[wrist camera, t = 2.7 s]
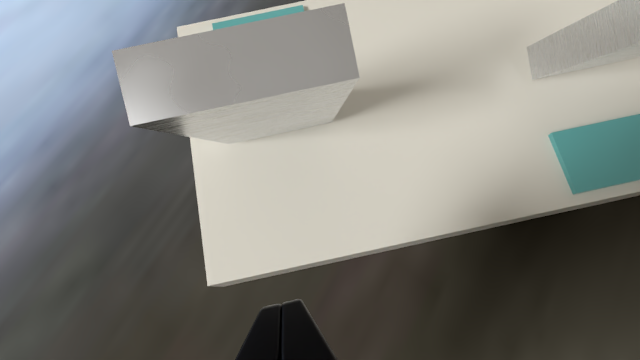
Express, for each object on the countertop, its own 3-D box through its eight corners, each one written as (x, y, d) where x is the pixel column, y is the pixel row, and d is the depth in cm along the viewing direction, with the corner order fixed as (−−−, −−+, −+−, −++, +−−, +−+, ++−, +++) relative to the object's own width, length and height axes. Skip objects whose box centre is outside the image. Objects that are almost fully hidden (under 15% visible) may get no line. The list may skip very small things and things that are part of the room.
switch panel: (677, 187, 19) (732, 170, 17) (223, 286, 19) (205, 285, 16) (571, -24, 23) (601, -65, 21) (193, 54, 23) (174, 23, 20)
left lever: (331, 122, 18) (359, 78, 8) (229, 144, 18) (130, 125, 8) (324, 89, 18) (344, 2, 8) (221, 111, 18) (112, 51, 8)
